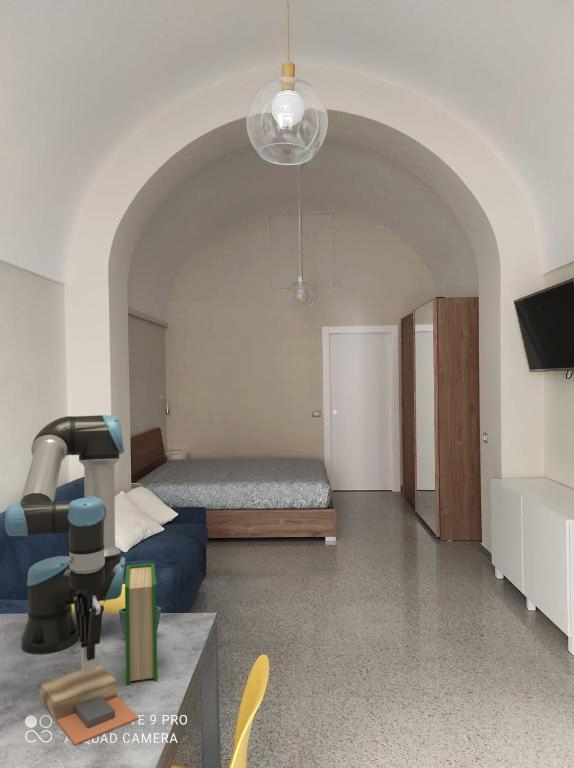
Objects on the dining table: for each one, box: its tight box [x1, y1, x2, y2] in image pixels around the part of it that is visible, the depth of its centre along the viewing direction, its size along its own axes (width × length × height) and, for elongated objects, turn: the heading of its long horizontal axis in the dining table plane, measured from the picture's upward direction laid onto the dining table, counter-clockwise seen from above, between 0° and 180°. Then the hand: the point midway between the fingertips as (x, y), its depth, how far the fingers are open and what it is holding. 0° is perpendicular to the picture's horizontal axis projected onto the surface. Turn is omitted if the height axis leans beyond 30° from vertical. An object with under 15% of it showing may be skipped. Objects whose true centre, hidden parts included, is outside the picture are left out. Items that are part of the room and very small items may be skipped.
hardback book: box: [124, 562, 158, 686], centre depth 150 cm, size 18×7×24 cm, turn 14°
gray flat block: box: [74, 696, 115, 729], centre depth 127 cm, size 8×6×2 cm
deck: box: [39, 663, 118, 722], centre depth 134 cm, size 11×14×4 cm
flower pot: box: [118, 605, 162, 638], centre depth 165 cm, size 9×9×9 cm
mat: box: [56, 696, 140, 746], centre depth 125 cm, size 11×14×1 cm
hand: (88, 671), depth 130 cm, fingers closed
